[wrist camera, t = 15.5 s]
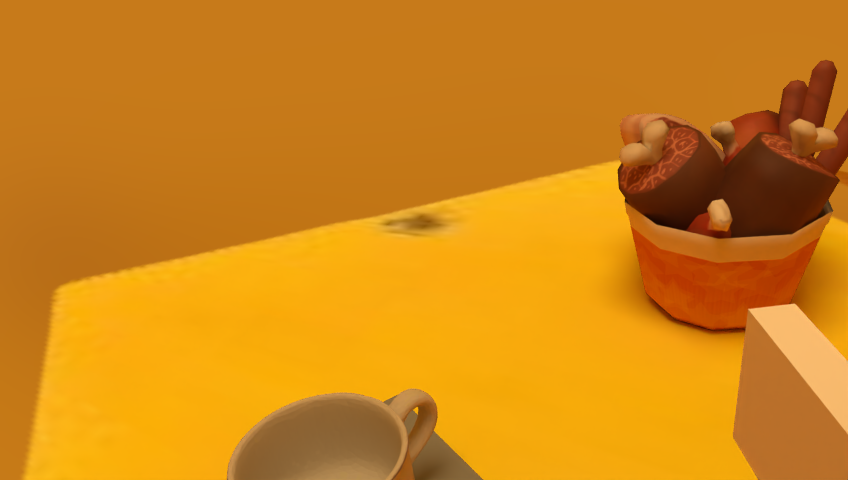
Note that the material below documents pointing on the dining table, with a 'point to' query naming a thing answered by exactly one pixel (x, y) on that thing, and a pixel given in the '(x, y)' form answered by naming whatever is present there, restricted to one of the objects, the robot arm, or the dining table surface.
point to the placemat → (437, 458)
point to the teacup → (336, 439)
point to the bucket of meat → (731, 203)
